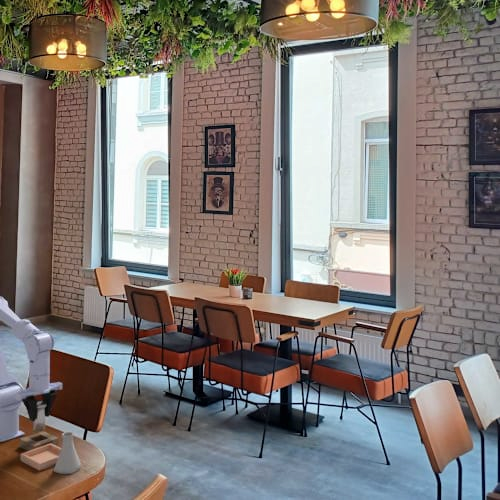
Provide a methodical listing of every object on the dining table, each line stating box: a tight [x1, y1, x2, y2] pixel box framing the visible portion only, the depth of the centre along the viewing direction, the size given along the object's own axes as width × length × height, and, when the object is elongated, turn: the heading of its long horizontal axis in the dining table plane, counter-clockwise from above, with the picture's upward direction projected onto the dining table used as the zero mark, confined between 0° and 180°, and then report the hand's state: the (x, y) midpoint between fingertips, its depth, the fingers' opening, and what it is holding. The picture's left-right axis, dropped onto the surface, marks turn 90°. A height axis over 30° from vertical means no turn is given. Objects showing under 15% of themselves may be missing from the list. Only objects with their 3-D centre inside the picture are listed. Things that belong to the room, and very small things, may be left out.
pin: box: [33, 400, 47, 432], centre depth 171 cm, size 4×4×8 cm
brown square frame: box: [19, 430, 60, 452], centre depth 171 cm, size 8×8×2 cm
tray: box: [20, 443, 62, 472], centre depth 162 cm, size 10×10×2 cm
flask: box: [53, 431, 82, 475], centre depth 157 cm, size 7×7×10 cm
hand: (39, 417), depth 171 cm, fingers closed on pin, 4 cm apart
